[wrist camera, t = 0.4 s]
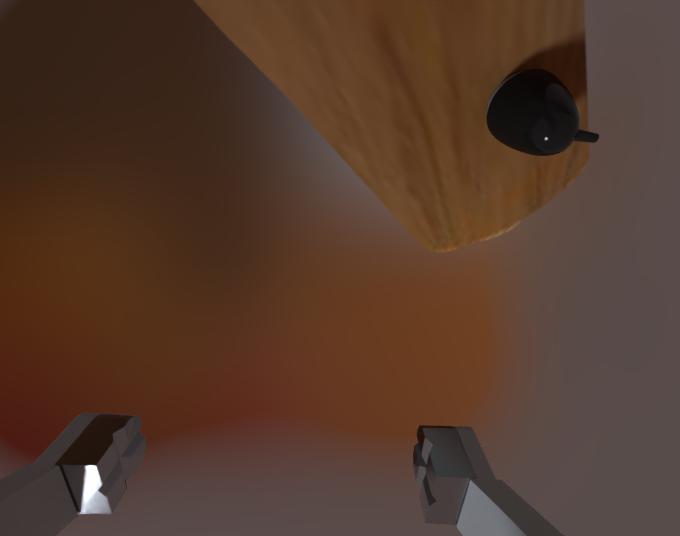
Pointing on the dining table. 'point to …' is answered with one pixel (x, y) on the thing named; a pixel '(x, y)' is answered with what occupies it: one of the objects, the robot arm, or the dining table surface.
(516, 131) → the black roly-poly toy
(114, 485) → the robot arm
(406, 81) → the dining table surface
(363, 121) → the dining table surface
